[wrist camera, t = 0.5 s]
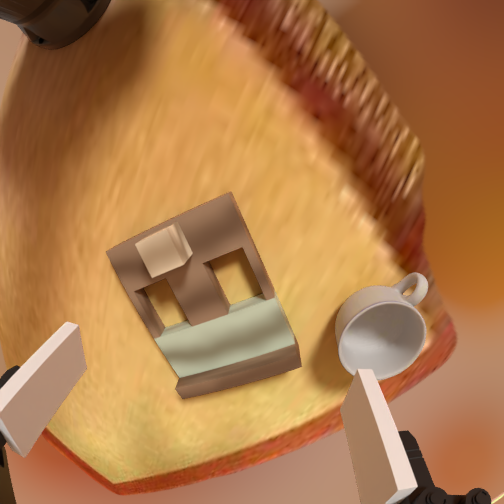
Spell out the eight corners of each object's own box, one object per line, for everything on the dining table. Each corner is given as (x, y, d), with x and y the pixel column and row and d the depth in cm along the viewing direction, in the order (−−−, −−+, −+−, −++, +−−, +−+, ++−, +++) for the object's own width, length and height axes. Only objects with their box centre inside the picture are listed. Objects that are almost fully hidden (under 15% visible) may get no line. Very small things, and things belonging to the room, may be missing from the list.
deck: (114, 246, 38) (96, 257, 33) (231, 191, 35) (225, 196, 30) (189, 377, 43) (182, 399, 38) (298, 344, 40) (301, 366, 36)
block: (148, 235, 34) (134, 244, 30) (177, 221, 34) (166, 229, 30) (163, 265, 35) (152, 277, 31) (192, 253, 35) (183, 264, 31)
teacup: (362, 358, 41) (377, 394, 33) (310, 318, 39) (319, 354, 31) (431, 290, 37) (459, 316, 30) (385, 240, 36) (412, 260, 28)
